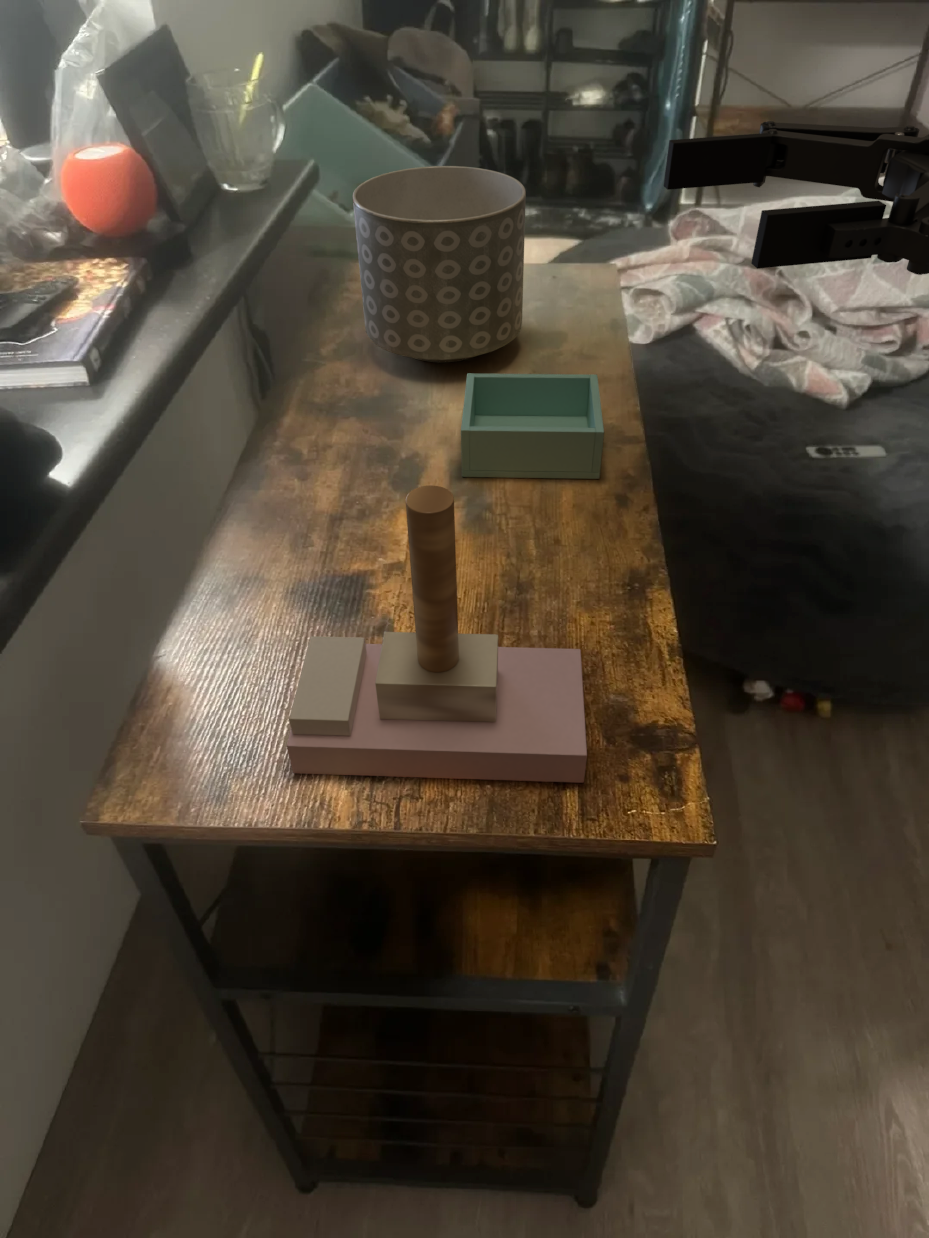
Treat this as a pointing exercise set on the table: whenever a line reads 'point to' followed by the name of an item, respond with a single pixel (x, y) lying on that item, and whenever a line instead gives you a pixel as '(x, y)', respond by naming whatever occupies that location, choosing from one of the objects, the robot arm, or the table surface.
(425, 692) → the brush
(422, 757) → the bed
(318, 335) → the table surface
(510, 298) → the planter
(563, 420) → the green open box
